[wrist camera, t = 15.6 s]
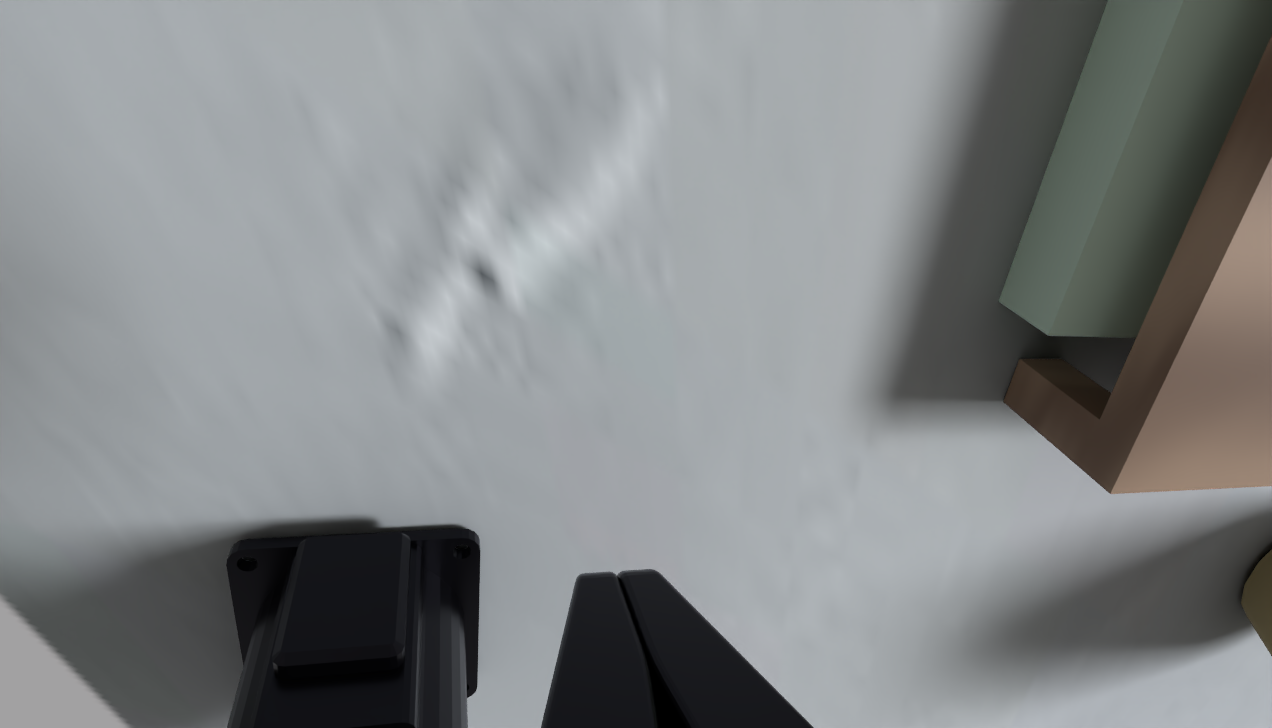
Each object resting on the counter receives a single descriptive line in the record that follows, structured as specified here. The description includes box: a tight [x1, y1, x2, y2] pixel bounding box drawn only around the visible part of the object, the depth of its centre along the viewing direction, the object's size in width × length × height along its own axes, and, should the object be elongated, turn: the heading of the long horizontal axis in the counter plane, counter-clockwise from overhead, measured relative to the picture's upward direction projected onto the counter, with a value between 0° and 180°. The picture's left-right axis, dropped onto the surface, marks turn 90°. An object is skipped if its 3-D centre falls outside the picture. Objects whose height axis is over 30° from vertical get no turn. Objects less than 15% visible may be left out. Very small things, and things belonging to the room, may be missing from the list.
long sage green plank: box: [998, 0, 1272, 338], centre depth 20 cm, size 12×5×3 cm, turn 173°
